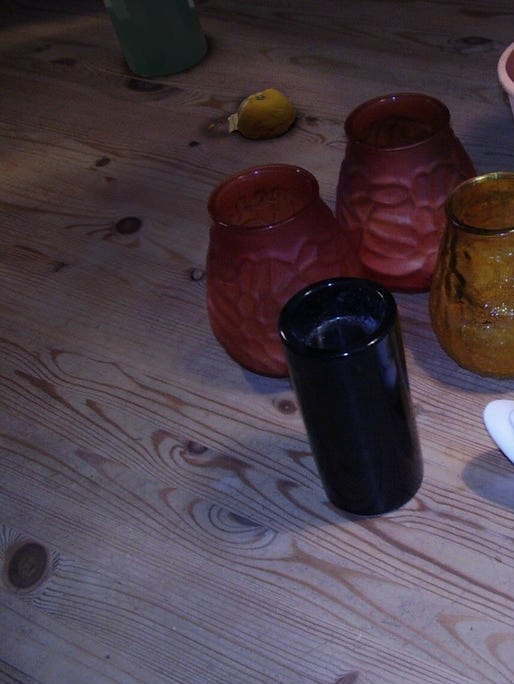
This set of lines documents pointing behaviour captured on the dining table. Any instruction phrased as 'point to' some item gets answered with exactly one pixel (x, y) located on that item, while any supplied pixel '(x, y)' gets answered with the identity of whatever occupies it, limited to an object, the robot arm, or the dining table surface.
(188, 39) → the holder
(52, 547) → the dining table surface
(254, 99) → the fruit
